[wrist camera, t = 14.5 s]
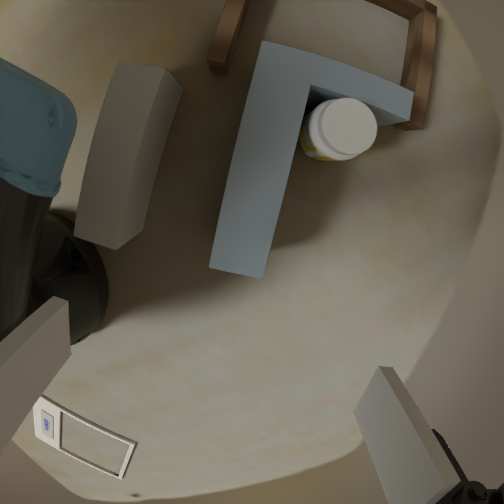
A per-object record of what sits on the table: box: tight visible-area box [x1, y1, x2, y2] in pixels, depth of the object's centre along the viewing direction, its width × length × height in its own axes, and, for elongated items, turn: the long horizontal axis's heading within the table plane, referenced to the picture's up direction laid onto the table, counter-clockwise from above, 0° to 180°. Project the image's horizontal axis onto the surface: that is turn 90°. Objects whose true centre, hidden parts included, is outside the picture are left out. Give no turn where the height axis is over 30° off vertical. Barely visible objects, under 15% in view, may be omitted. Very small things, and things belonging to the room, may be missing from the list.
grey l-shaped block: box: [209, 40, 414, 279], centre depth 24 cm, size 17×12×7 cm
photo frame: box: [33, 394, 136, 479], centre depth 38 cm, size 15×1×18 cm
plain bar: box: [74, 61, 183, 250], centre depth 23 cm, size 14×4×7 cm, turn 162°
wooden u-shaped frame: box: [207, 0, 437, 131], centre depth 22 cm, size 15×20×4 cm
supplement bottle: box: [297, 98, 377, 161], centre depth 22 cm, size 5×5×8 cm
